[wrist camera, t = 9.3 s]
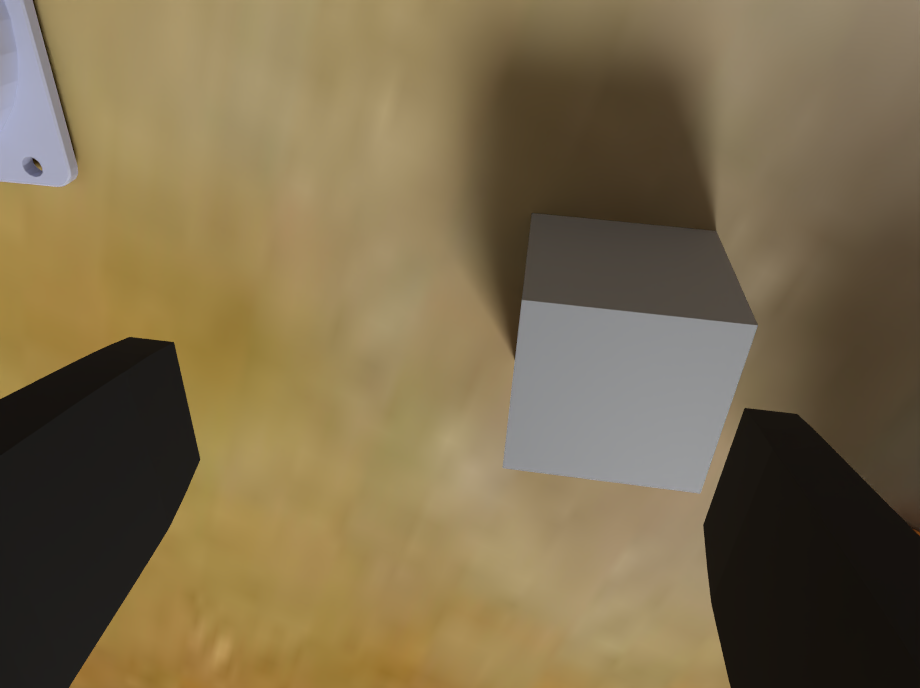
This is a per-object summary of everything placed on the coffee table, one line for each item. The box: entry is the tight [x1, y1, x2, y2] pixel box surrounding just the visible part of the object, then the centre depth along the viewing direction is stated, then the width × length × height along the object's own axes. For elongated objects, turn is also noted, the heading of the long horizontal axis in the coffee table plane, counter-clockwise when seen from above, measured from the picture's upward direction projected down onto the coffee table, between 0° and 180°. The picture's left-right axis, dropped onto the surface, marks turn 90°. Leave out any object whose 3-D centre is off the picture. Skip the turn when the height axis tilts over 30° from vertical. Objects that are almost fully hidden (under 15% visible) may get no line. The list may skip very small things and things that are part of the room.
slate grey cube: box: [503, 213, 758, 493], centre depth 16 cm, size 4×4×4 cm
